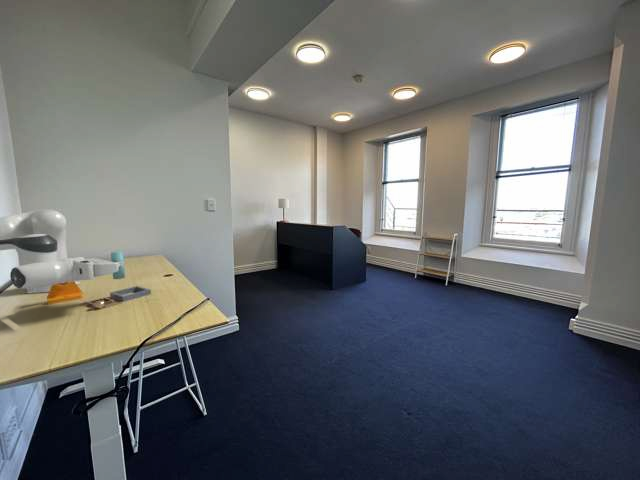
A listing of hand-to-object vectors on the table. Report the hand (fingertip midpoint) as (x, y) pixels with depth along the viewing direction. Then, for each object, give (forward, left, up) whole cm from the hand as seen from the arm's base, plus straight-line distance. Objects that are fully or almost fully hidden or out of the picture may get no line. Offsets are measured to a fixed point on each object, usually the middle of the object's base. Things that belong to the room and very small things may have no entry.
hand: (120, 262), depth 110 cm
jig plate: (0, -8, -17) cm, 19 cm away
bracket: (-19, -13, -17) cm, 29 cm away
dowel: (0, -1, -7) cm, 7 cm away
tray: (0, +3, -17) cm, 17 cm away
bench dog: (+5, -10, -16) cm, 20 cm away
